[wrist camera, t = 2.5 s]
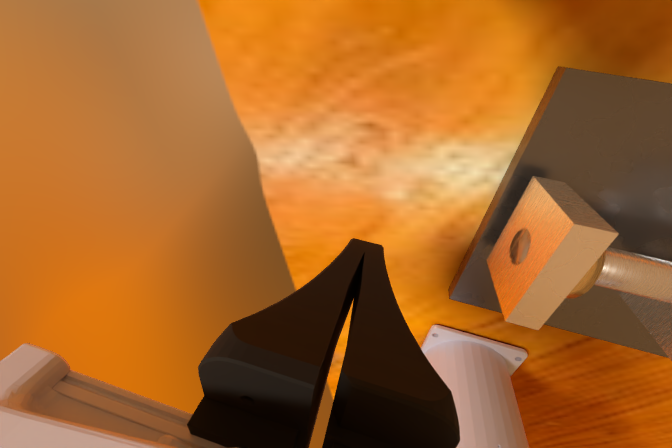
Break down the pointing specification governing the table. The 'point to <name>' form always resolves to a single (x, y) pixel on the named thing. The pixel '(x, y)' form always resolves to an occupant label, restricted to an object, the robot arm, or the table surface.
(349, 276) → the robot arm
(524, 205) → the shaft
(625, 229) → the bearing bracket
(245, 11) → the table surface
